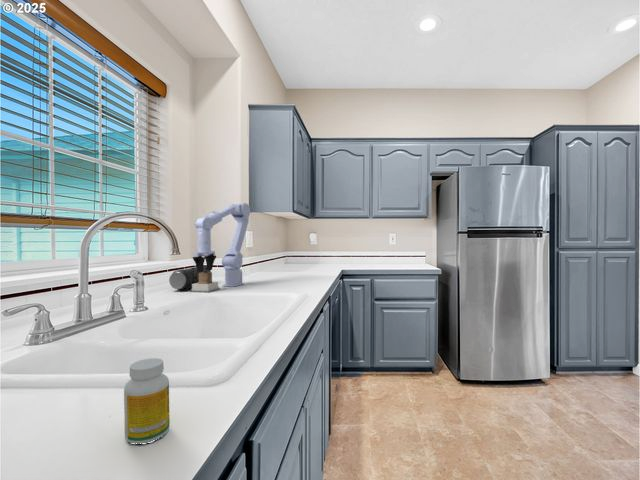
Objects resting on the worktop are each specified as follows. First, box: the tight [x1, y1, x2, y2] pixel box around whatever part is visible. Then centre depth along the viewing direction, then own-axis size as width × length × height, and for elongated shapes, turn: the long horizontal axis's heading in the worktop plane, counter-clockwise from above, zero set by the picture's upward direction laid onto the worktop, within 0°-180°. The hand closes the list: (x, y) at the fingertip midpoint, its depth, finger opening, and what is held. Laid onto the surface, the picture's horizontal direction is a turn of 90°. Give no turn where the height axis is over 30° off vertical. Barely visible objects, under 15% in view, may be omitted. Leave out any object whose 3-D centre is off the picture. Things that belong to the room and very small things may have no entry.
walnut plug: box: [199, 270, 213, 284], centre depth 163 cm, size 4×4×9 cm
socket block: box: [189, 281, 221, 293], centre depth 163 cm, size 10×10×4 cm
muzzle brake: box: [168, 265, 212, 291], centre depth 174 cm, size 10×28×10 cm, turn 174°
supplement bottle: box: [123, 357, 171, 444], centre depth 45 cm, size 5×5×10 cm
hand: (205, 271), depth 163 cm, fingers open, 7 cm apart
